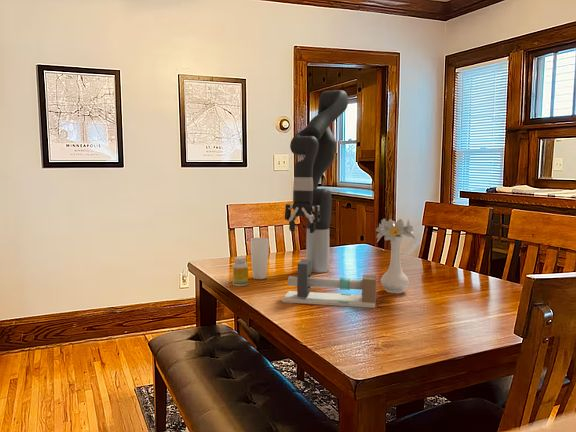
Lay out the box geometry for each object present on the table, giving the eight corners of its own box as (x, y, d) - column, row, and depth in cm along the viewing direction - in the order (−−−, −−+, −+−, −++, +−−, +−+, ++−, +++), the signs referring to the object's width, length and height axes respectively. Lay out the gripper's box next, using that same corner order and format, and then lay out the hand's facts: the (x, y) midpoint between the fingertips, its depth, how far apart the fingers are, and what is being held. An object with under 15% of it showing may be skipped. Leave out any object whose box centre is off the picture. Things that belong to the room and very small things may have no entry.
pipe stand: (282, 302, 155) (282, 276, 154) (288, 293, 166) (289, 269, 165) (374, 307, 149) (375, 281, 148) (375, 298, 160) (376, 273, 159)
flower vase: (402, 284, 179) (404, 215, 177) (421, 297, 161) (423, 221, 159) (367, 284, 178) (368, 215, 176) (382, 298, 160) (384, 221, 157)
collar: (297, 296, 155) (297, 263, 154) (301, 290, 163) (301, 259, 162) (306, 297, 155) (307, 264, 154) (310, 290, 162) (310, 259, 161)
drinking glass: (266, 280, 183) (266, 240, 182) (248, 279, 185) (248, 239, 183) (270, 276, 190) (270, 237, 188) (253, 275, 191) (253, 237, 190)
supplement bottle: (230, 283, 178) (230, 257, 177) (244, 282, 181) (244, 256, 180) (235, 287, 174) (235, 260, 173) (250, 285, 176) (250, 258, 175)
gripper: (324, 190, 187) (323, 232, 188) (292, 188, 194) (290, 230, 195) (315, 190, 180) (313, 234, 182) (281, 188, 188) (280, 231, 189)
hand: (302, 232), depth 188 cm, fingers open, 8 cm apart
